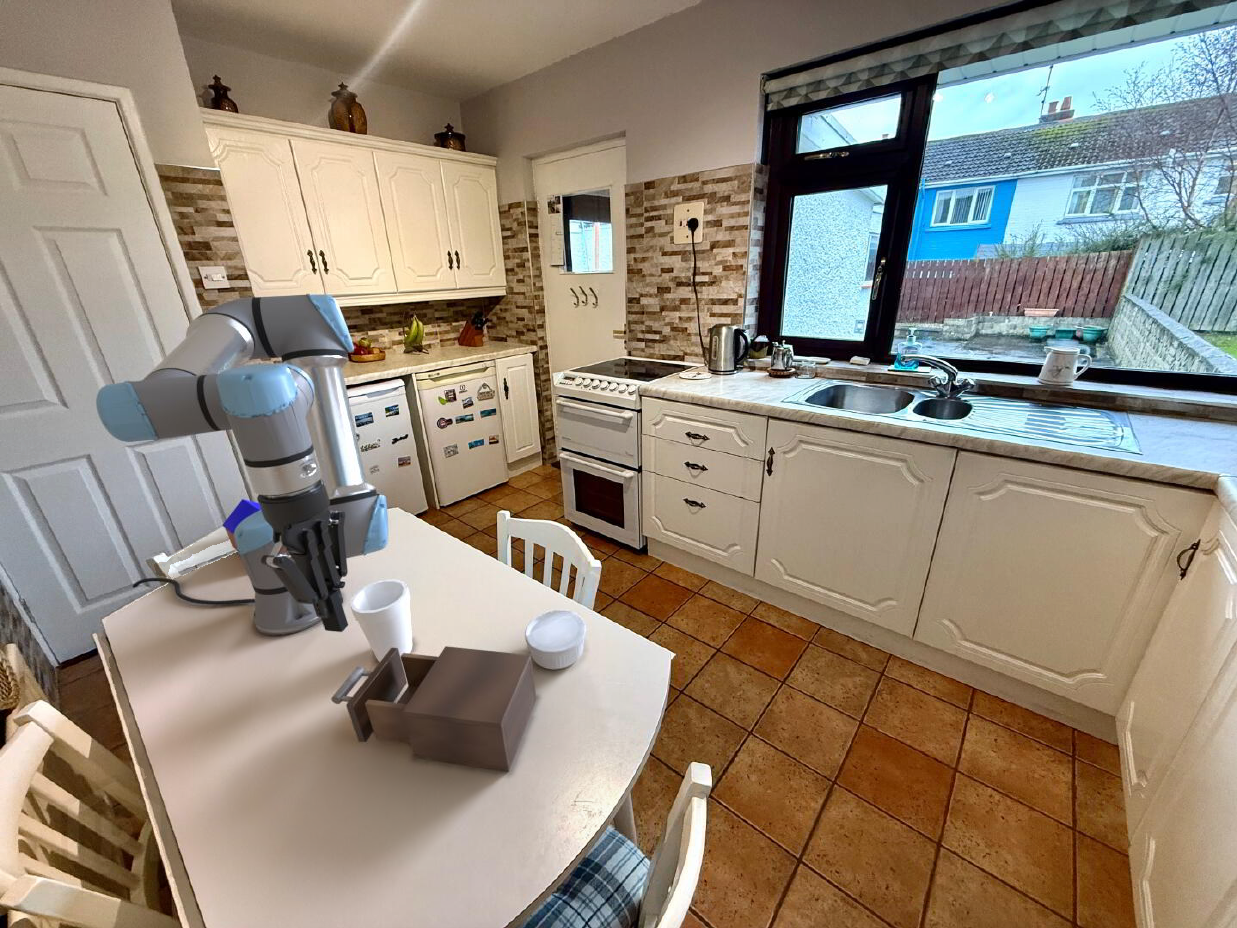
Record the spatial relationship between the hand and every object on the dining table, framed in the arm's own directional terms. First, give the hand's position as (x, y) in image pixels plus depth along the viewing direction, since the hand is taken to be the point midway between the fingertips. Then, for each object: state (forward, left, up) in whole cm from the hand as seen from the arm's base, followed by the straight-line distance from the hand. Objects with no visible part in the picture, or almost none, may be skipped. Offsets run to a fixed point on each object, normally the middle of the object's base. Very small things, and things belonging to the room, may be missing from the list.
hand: (336, 627), depth 72 cm
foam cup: (-3, +13, -18) cm, 22 cm away
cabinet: (+20, 0, -18) cm, 27 cm away
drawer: (+7, 0, -17) cm, 18 cm away
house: (-56, +42, -18) cm, 72 cm away
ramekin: (+28, +17, -18) cm, 37 cm away
